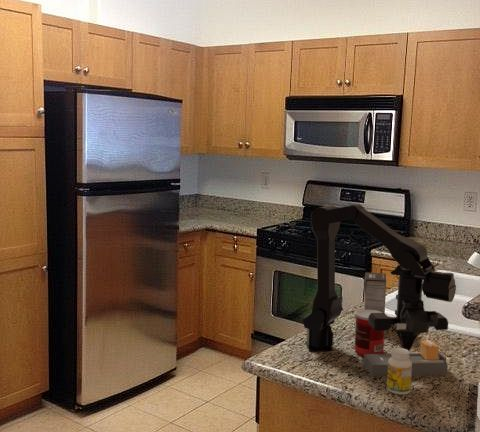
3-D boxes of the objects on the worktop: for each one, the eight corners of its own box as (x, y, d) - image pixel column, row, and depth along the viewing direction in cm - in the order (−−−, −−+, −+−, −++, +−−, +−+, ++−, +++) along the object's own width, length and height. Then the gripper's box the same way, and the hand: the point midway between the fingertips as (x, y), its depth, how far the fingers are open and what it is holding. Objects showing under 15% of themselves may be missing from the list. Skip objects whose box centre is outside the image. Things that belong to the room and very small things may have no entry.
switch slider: (426, 360, 141) (427, 345, 140) (420, 353, 145) (420, 339, 144) (437, 359, 141) (438, 344, 141) (431, 353, 145) (432, 339, 145)
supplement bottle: (415, 393, 130) (417, 353, 129) (395, 396, 128) (398, 356, 127) (400, 383, 135) (402, 345, 134) (381, 387, 133) (383, 348, 132)
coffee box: (362, 320, 181) (364, 271, 179) (383, 322, 180) (385, 273, 178) (362, 330, 173) (365, 278, 170) (384, 331, 171) (387, 280, 169)
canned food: (384, 349, 157) (386, 311, 155) (381, 359, 150) (383, 319, 148) (356, 345, 160) (358, 308, 158) (352, 355, 152) (354, 316, 150)
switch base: (371, 376, 139) (372, 360, 138) (363, 365, 146) (364, 349, 145) (446, 375, 140) (447, 359, 140) (435, 363, 147) (436, 348, 147)
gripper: (384, 304, 132) (380, 367, 134) (461, 303, 133) (455, 366, 136) (369, 290, 143) (365, 349, 145) (440, 290, 144) (436, 348, 147)
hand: (405, 353), depth 143 cm, fingers closed
